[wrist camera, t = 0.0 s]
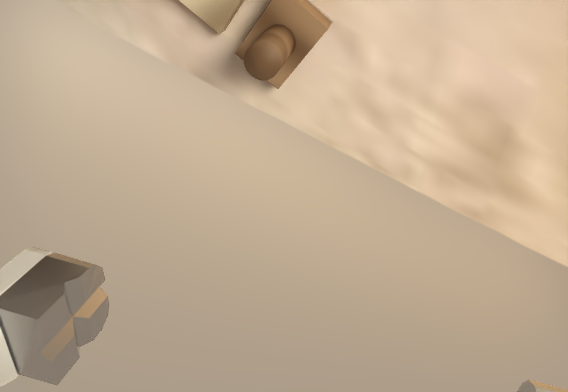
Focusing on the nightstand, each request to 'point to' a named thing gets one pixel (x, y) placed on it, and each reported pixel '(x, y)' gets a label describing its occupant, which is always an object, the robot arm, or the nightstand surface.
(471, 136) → the nightstand surface
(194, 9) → the board
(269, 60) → the wooden stamp
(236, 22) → the nightstand surface
